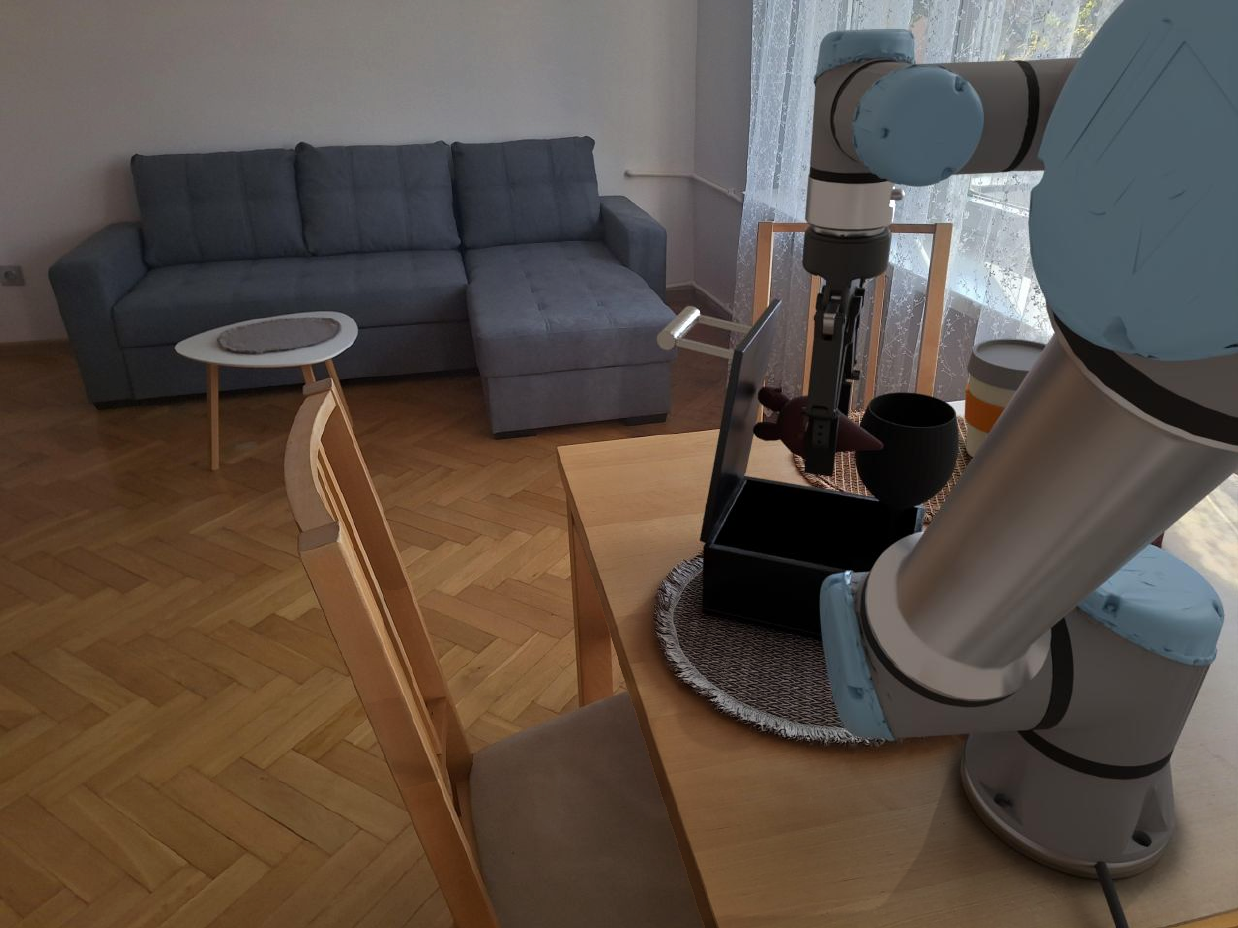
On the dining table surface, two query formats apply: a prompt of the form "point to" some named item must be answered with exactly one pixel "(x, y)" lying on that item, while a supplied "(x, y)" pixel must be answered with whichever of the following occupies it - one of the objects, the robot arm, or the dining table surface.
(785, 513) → the black open box
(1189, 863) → the dining table surface
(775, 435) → the icecream
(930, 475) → the wine glass
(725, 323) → the lid
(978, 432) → the reusable coffee cup
